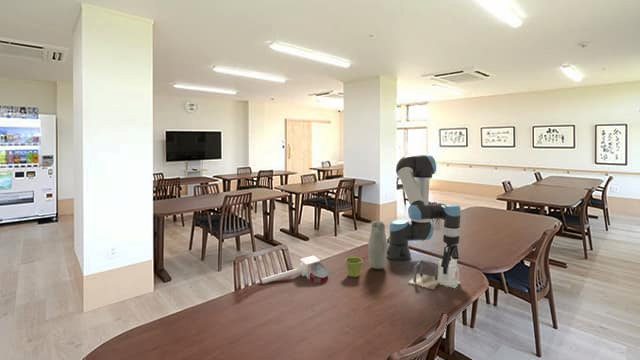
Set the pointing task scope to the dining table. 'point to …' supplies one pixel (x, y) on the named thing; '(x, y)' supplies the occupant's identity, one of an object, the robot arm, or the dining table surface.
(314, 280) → the canned food
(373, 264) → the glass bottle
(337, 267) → the dining table surface
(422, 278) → the wire board
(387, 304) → the dining table surface
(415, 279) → the bent wire
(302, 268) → the white handled tool
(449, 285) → the pad
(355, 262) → the plant pot
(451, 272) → the cup
